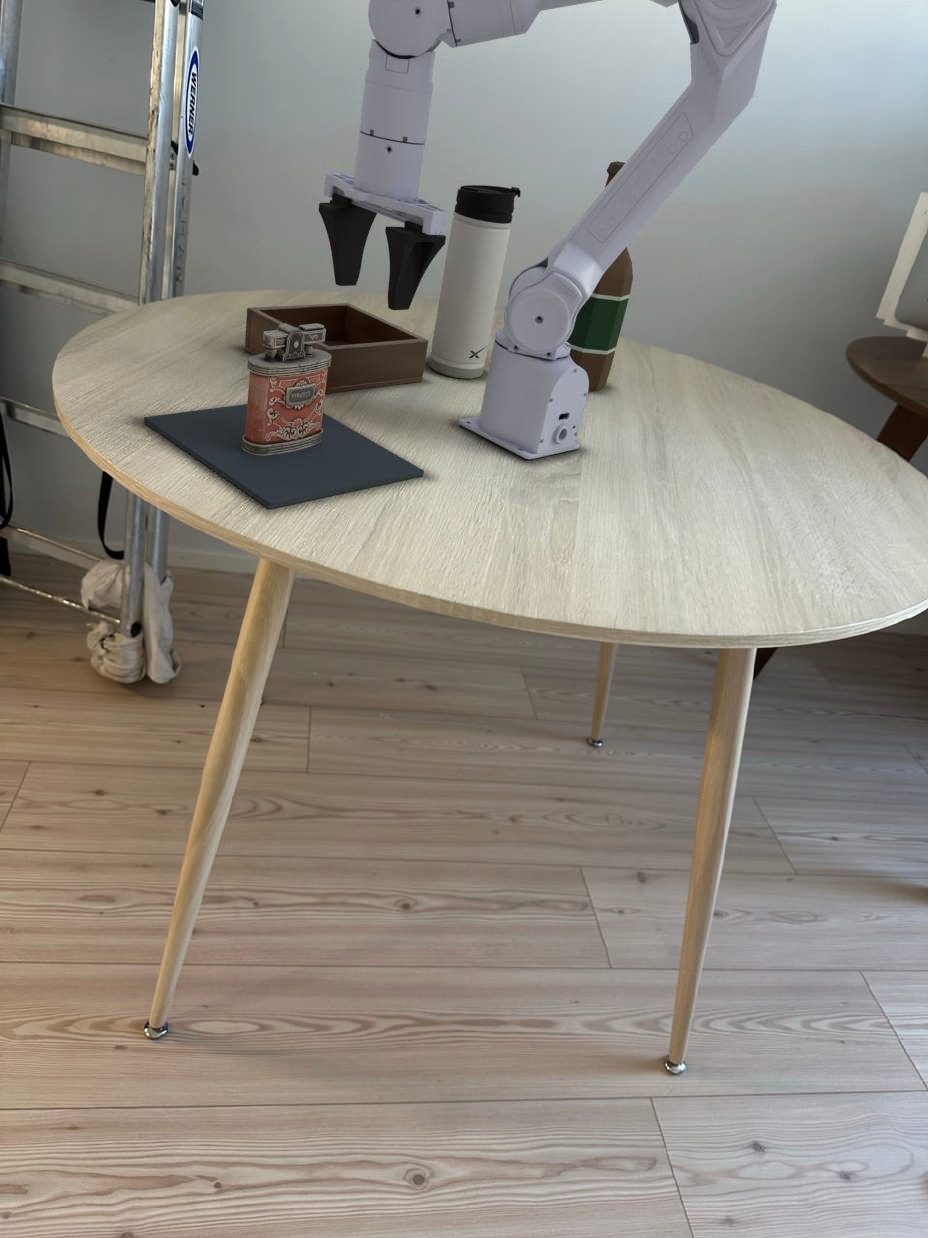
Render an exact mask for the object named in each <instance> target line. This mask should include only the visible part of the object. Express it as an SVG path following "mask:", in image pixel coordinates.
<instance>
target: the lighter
mask: <svg viewBox="0 0 928 1238" xmlns="http://www.w3.org/2000/svg"><path fill="white" fill-rule="evenodd" d="M325 333H326V329H325V328H324V326H323V325H321V324H307V325H299V328H295V327H293V326H291V325H288V324H286V323H283V324H280V325H279V326H278V328H277V330H273V331H265V332H264V335H263V345H264V351H265V353H262V354H258V355H251V356H249V357H248V358H247V369H248V371H249V374H248V375H249V377H248V390H247V393H248V394H247V403H246V404H247V417H246V430H245V435H243V440H242V448H243V450H245V451H246V452H248V453H251V454H254V455H272V454H280V453H286V452H291V451H296V450H300V449H303V448H307V447H310V446H312V445H315V444H317V443H320V442H321V441H322V434H323V429H322V428H321V424H322V415H323V413H324V405H325V396H326V393H325V389H326V380H327V371H328V367H329V366H330V365H331V354H329V353H328V352H325V351H323V350H319V349H313V348H312V345H311V343H317V342H323V341H325Z"/></svg>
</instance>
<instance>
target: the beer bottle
mask: <svg viewBox="0 0 928 1238" xmlns="http://www.w3.org/2000/svg"><path fill="white" fill-rule="evenodd" d="M625 163H626V162H625V161H617V160H616V161H611V162H610V163H609V165H608V167H607V169H606V172H607V174H608V176H607V178H606V182H605V186H604V188H605V187H606V186H607V185H608V184H609V183H610V181H611V180H612V179H613V178H614V176H615V175H616V174H617V173H618V172H619V170H620V169H621V168H622V167H623V165H624V164H625ZM633 273H634V272H633V261H632V259H631V256H630V253H629V249H628V246H627V247H626V248H625V249H624V250H623V251H622V253H621V254H620V255H619V256H618V257H617V258H616V260H615V261H614V262H613V263H612V264H611V265H610V267H609V268H608V269H607V270H606V271H605V272H604V274H603V275H602V277H601V279H600V280H599V282H598V284H597V286H596V287H595V289H594V291H593V293H592V294H591V296H590V298H589V299H588V300H587V301H586V302H585V304H584V305H583V306H582V307H581V309H580V310H579V312H578V314H577V316H576V320H575V324H574V328H573V331H572V333H571V335H570V337H569V338H568V340H567V341H566V342H568V343H569V344H570V345H571V346H570V348H571V350H570V354H569V355H570V357H571V359H572V360H573V361H574V363H575V364H577V365H578V366H580V367H581V368H583V369H584V370H585V371H586V373H587V375H588V379H589V390H588V392H596V391H599V390H601V389H602V388H604V387H605V386H606V384H607V382H608V378H609V376H610V372H611V369H612V365H613V362H614V358H615V354H616V350H617V345H618V342H619V338H620V334H621V331H622V326H623V323H624V319H625V315H626V312H627V308H628V303H629V299H630V296H631V291H632V286H633V280H634V274H633Z"/></svg>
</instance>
